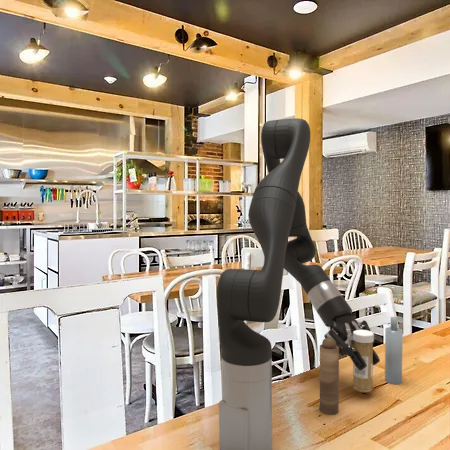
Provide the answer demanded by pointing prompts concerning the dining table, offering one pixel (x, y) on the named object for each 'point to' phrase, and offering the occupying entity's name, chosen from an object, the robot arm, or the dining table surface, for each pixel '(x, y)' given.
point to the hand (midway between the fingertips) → (370, 365)
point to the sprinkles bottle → (365, 349)
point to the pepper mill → (329, 377)
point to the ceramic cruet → (393, 352)
